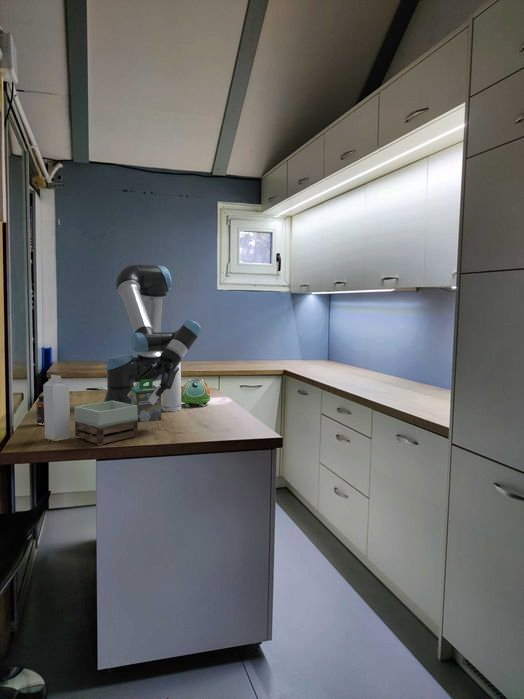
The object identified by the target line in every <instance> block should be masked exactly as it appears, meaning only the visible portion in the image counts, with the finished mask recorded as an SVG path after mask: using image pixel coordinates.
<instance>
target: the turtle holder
mask: <svg viewBox="0 0 524 699" xmlns="http://www.w3.org/2000/svg"><path fill="white" fill-rule="evenodd" d="M210 400H211V392H210V387H209V385H208V384H207V383H206V382H205V381H204V379H203V378H201V379H200V378H190V379H188V380H187V381H186V383H185V384H183V386H182V387H181V403H184V406H185V408H191V406H190V405H189V403H191V404H198V406H199V407H200V406H202V407H201V408H203V406H205V407H206V405H205V404H203V403H208V404H209V402H210Z"/></svg>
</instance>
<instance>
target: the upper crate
mask: <svg viewBox="0 0 524 699" xmlns="http://www.w3.org/2000/svg"><path fill="white" fill-rule="evenodd" d="M134 420H138V409H137V405H132V404H127V403H122V402H117V401H107V402H104V401H103V402H96V403H88V404H82V405H76V406H74V422H75V421H77V422H81V423H84V424H88V425H92V426H95V427H104V426H109V425H114V424H119V423H124V422H129V421H134Z"/></svg>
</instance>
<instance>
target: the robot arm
mask: <svg viewBox="0 0 524 699" xmlns="http://www.w3.org/2000/svg"><path fill="white" fill-rule="evenodd" d="M116 277H117V278H116V281H115V285H116V286H115V287H116V288H115V289H116V290H117V294H118V296H120V297H121V298H122V301H123V305H124V307H125V310H126V313H127V315H128V319H129V322H130V325H131V327H132V331H133V334H132V335H131V337H130V344H131V348H132V351H134V352H136V353H137V354H136V355H137V357H136V356H135V357H134V355H133V354H130V353H129V354H120V355H115V356H114V355H113V356H111V357H109V358H107V361H106V382H107V384H106V386H107V389H106V390H107V391H106V394H105V397H104V400H103V402H107V401H117V402H122V403H127V404H131V388H132V387H140V380H145V379H152V380H153V382H157V381H160V383H158V385H157V386H156V387H157V388H156V389H155V391H154V392H153V393H152V395H151V396H150V398H149V399H148V401H149V402H150V403H151V404H152V405H154V404H155V402H156V401H157V399H158V398H159V397H160V396H161V397H162V393H163V392H164V390H166V389H171V387H172V384H173V381H174V378H175V376H176V373H177V372H178V370H179V368H178V367H177V366H178V364H179V363H180V362H181V361H182V360H183V359H184V357H185V356H186V354H187V352H188V351H189V350H190V349H191V348H192V345H193V344H194V343H195V342H196V340H197V339H198V338H199V337H200V335H201V333H202V330H203V329H202V326H200V324H199V323H198V322H196V321H194V320H193V319H186V320H185V322H183V323H182V325H181V327H180V328H178V329H177V330H175V331H173V332H172V331H170V332H169V331H168V332H167V331H165V332H163V331H162V318H163V317H162V316H163V315H162V314H163V300H164V299H165V298H166V297H167V293H169V292H171V290H172V276H171V274H170V270H169V269H168V268H167V267H166V266H164V265H156V264H130V265H127V266H125V267H124V268H123V269H121V271H120V272H119V274H118V275H117V276H116ZM181 363H182V362H181ZM146 383H147V382H145V383H143V385H145V384H146ZM168 383H169V384H168Z"/></svg>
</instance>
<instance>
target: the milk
mask: <svg viewBox="0 0 524 699" xmlns="http://www.w3.org/2000/svg"><path fill="white" fill-rule="evenodd" d="M42 386H43V387H42V388H43V389H42V390H43V393H42V394H43V395H44V421H45V426H44V438H45V437H47V438H50V439H54V440H56V439H60V438H65V437H70V436H71V413H70V412H71V411H70V410H71V408H70V404H71V403H70V384H69V383H68V382H66V381H63V380H62V376H61V375H57V374H50V379H49V380H48V381H46V382H45V383H44V384H43V385H42Z"/></svg>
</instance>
